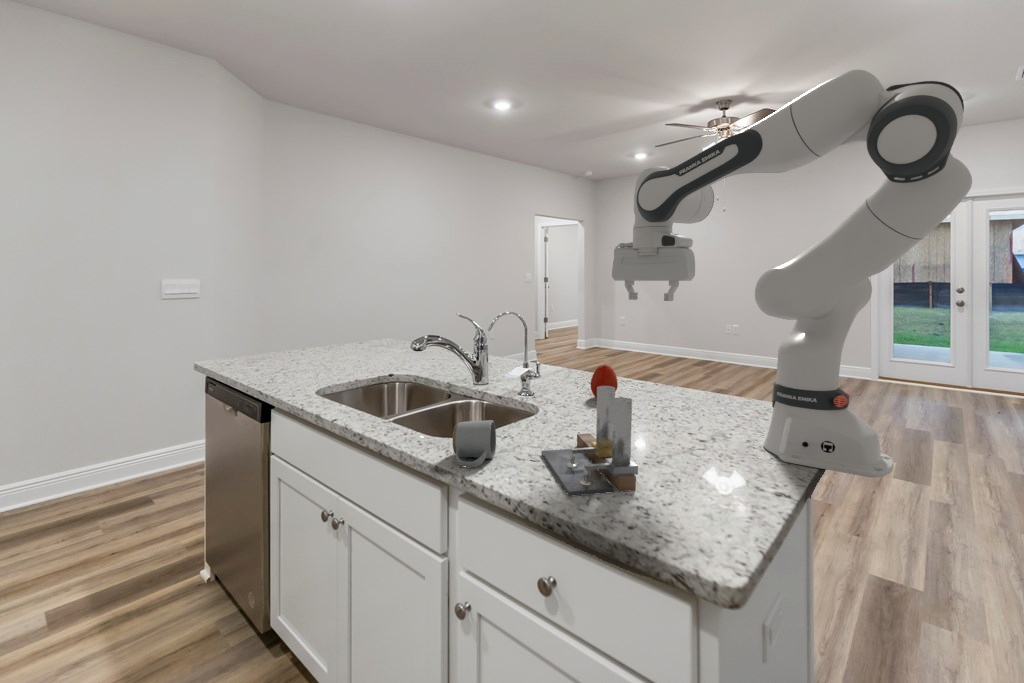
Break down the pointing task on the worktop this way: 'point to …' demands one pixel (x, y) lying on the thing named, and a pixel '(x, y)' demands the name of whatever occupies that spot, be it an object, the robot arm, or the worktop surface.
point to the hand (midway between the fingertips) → (650, 300)
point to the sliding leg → (601, 425)
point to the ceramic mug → (474, 441)
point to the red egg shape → (603, 378)
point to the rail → (618, 481)
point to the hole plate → (575, 473)
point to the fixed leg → (619, 442)
